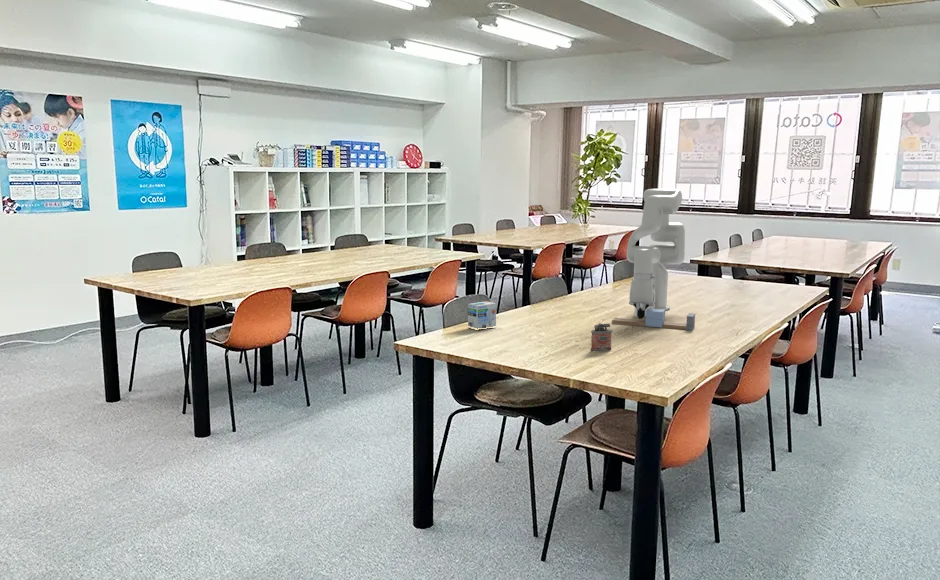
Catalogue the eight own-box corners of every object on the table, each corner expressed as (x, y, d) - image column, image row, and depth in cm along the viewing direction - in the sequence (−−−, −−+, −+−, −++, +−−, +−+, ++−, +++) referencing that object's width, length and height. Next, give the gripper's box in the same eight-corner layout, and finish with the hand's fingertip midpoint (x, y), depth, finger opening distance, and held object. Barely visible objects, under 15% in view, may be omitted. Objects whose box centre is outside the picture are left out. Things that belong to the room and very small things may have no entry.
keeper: (648, 322, 310) (649, 308, 309) (664, 323, 307) (665, 309, 306) (645, 326, 302) (645, 311, 301) (661, 327, 299) (662, 312, 298)
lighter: (593, 352, 257) (593, 325, 256) (589, 349, 260) (589, 323, 259) (613, 350, 259) (614, 324, 258) (608, 348, 263) (609, 322, 261)
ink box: (652, 315, 328) (653, 290, 326) (654, 317, 323) (655, 291, 321) (633, 315, 329) (634, 289, 327) (635, 317, 324) (636, 291, 322)
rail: (615, 320, 315) (615, 307, 314) (694, 327, 302) (695, 313, 301) (611, 323, 308) (611, 310, 307) (692, 330, 295) (693, 316, 294)
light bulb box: (477, 331, 292) (477, 305, 290) (467, 328, 297) (467, 303, 295) (496, 328, 299) (497, 302, 297) (486, 325, 304) (486, 300, 302)
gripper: (661, 276, 304) (659, 318, 307) (627, 274, 310) (625, 315, 313) (658, 279, 297) (656, 321, 300) (623, 277, 303) (621, 318, 306)
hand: (640, 318), depth 307 cm, fingers closed
